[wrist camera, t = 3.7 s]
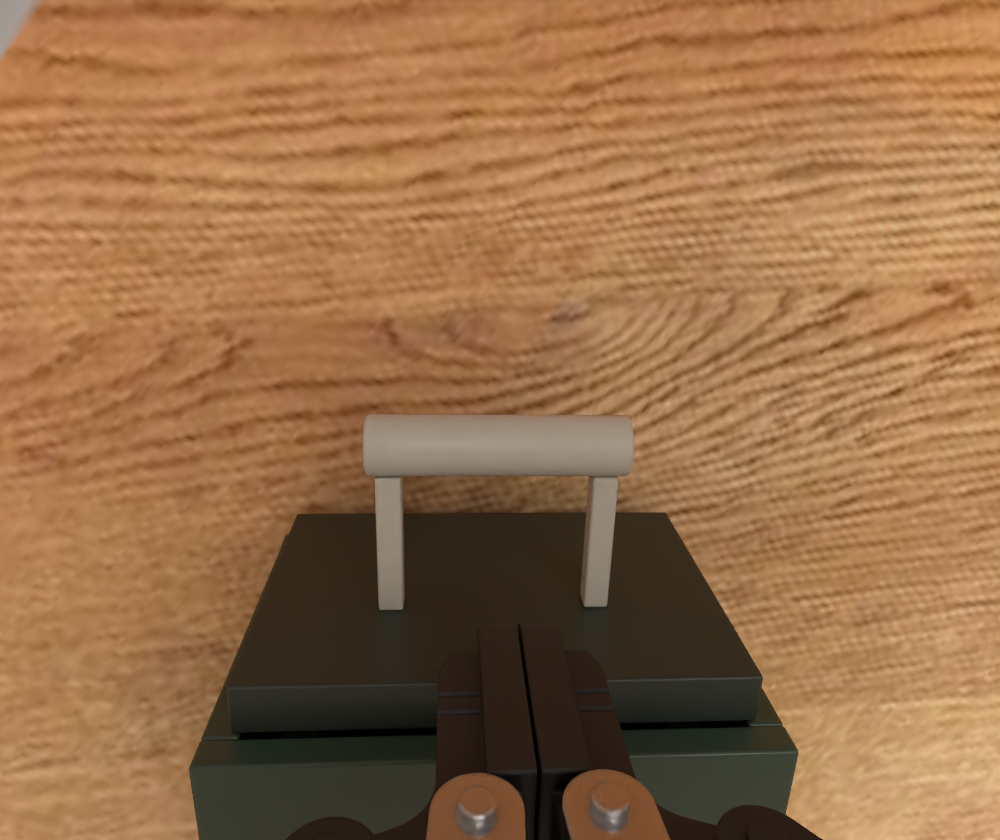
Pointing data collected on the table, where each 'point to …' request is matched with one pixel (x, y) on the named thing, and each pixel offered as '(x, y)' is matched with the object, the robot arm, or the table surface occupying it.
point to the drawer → (484, 589)
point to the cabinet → (412, 772)
